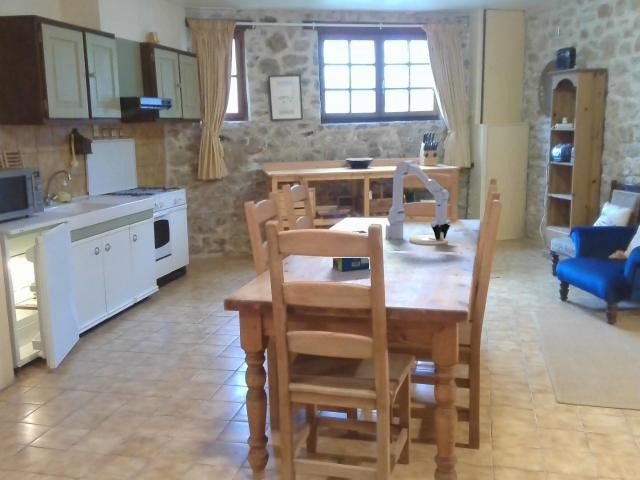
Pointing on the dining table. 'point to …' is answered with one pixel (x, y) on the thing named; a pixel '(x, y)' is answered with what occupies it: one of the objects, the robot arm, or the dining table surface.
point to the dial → (428, 239)
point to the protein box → (351, 262)
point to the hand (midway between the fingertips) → (440, 238)
